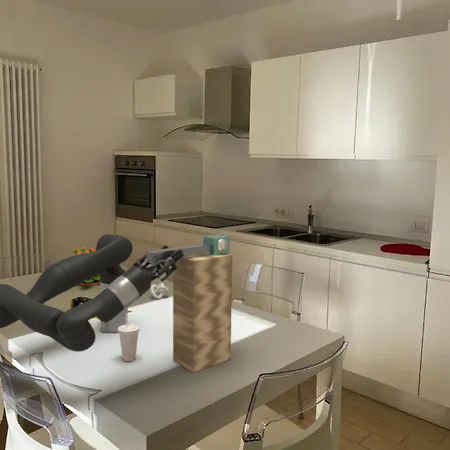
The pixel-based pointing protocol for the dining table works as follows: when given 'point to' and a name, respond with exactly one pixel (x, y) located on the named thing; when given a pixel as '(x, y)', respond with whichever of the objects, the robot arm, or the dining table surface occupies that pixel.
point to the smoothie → (128, 340)
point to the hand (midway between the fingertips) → (174, 250)
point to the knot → (159, 291)
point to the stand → (202, 311)
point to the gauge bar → (194, 249)
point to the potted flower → (94, 279)
